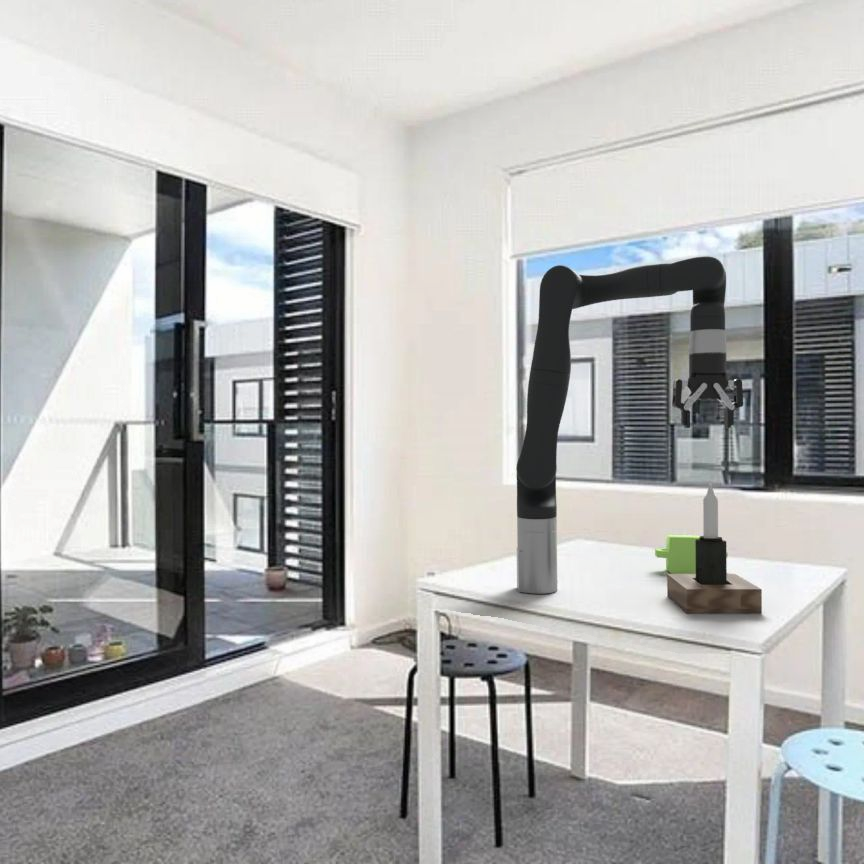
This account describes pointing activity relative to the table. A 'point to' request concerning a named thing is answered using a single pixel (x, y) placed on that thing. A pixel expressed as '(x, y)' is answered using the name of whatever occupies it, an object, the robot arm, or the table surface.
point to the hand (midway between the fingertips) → (707, 427)
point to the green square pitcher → (679, 554)
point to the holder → (714, 595)
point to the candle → (710, 546)
